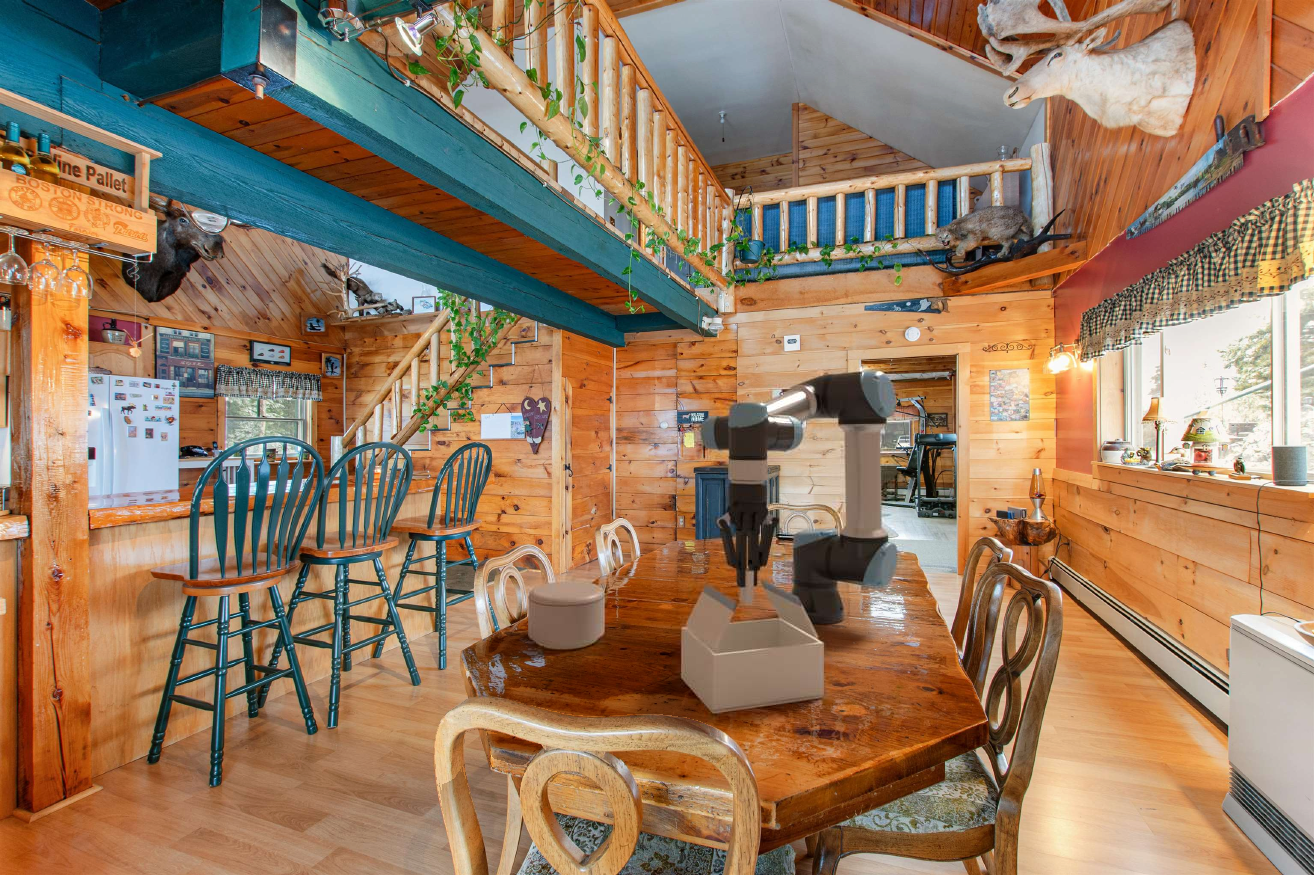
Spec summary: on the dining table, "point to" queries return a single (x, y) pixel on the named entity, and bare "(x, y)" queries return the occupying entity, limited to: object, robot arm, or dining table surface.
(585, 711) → the dining table surface
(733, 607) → the flap
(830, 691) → the dining table surface
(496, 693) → the dining table surface
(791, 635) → the carton
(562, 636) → the container
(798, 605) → the flap
